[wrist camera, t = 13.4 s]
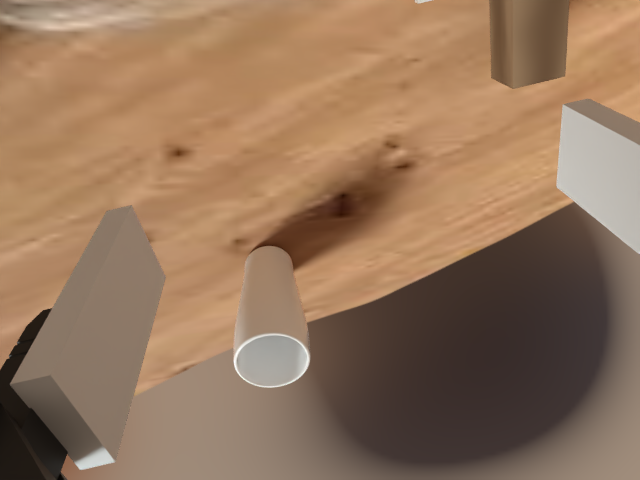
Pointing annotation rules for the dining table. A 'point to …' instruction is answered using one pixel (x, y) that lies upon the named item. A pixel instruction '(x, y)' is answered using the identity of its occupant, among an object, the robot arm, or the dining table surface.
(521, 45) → the batten
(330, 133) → the dining table surface
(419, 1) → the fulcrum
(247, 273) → the drinking glass
